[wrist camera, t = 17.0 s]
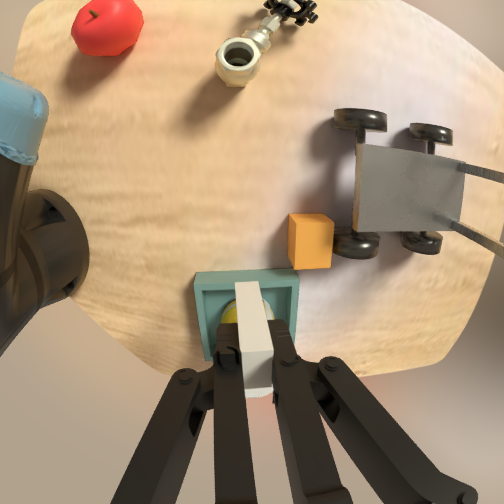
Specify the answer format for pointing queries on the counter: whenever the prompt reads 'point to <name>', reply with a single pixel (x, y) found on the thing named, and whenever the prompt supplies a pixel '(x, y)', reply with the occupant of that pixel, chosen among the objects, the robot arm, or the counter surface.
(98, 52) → the apple
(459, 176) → the trolley
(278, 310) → the tray
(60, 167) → the counter surface
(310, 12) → the valve
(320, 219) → the block
